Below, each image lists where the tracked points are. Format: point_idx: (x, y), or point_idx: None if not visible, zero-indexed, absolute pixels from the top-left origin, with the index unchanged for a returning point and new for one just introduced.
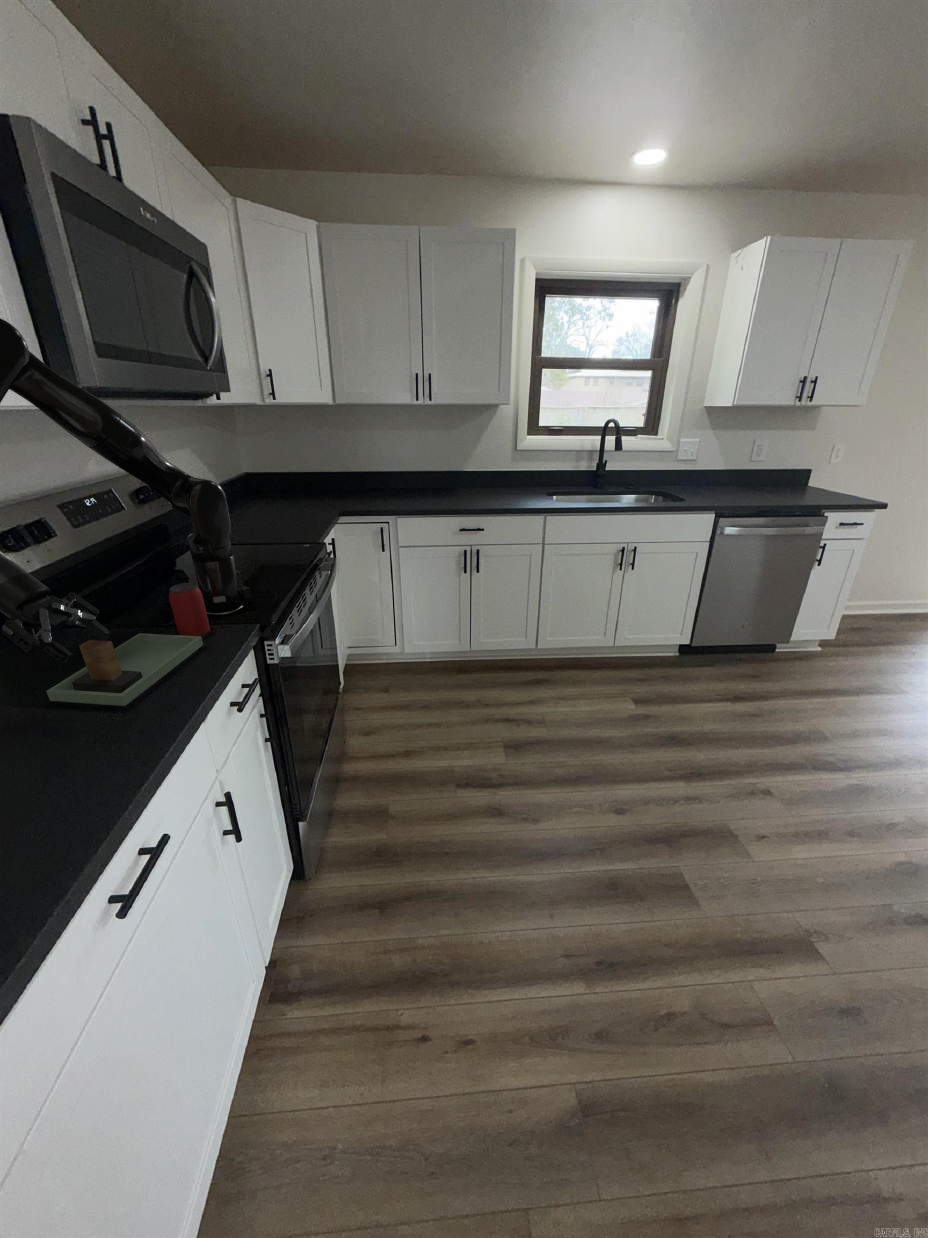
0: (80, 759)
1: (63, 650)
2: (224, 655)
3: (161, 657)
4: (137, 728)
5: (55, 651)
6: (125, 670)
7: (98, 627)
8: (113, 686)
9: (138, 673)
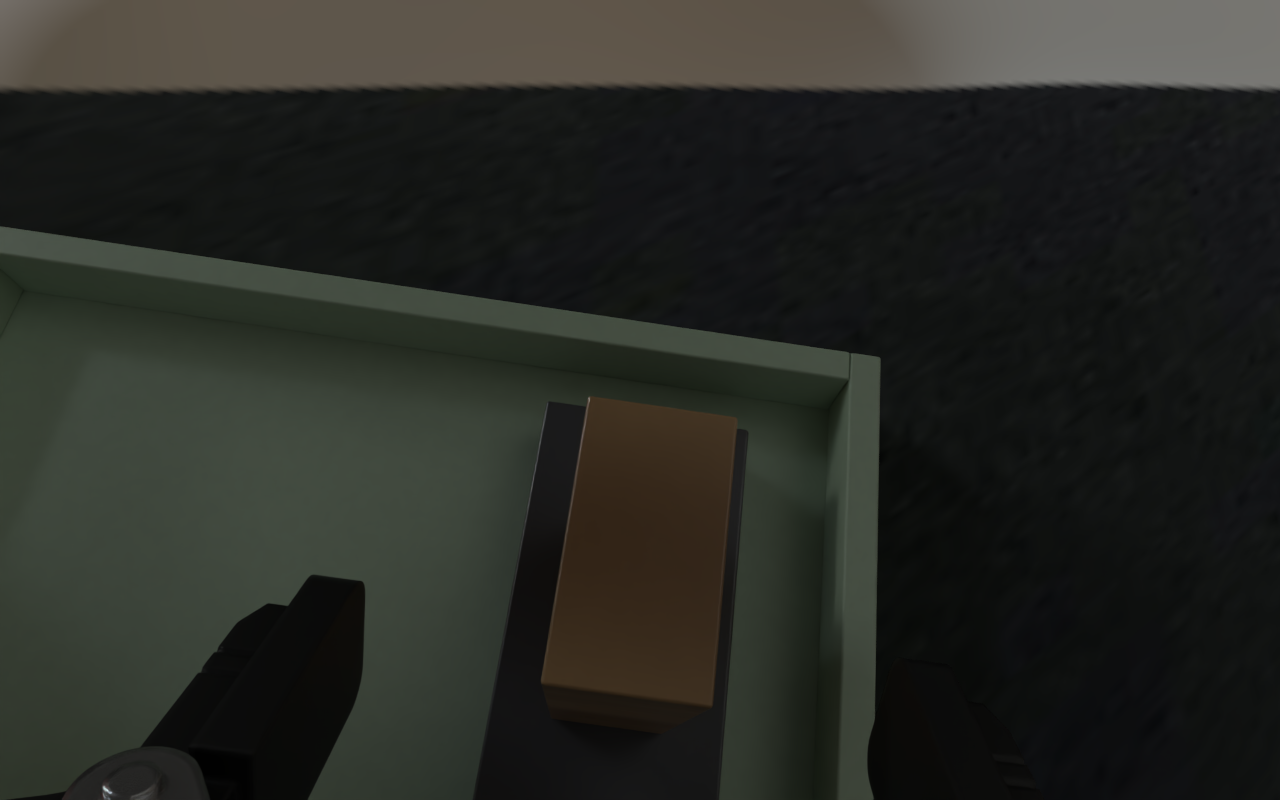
0: (1263, 395)
1: (969, 718)
2: (186, 128)
3: (180, 476)
4: (993, 265)
5: (1030, 794)
6: (371, 657)
7: (309, 657)
8: (742, 501)
9: (575, 405)
